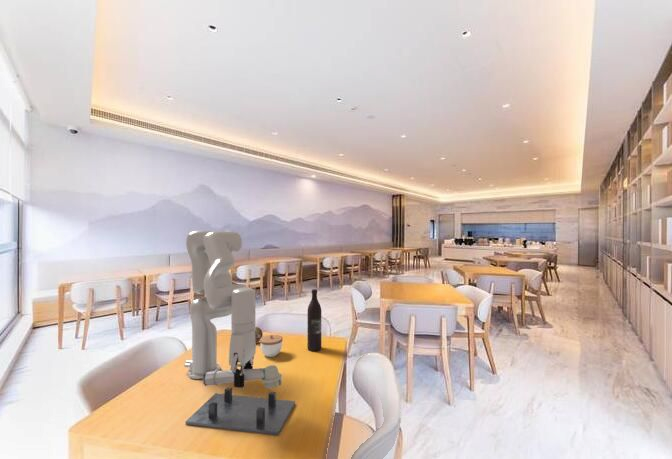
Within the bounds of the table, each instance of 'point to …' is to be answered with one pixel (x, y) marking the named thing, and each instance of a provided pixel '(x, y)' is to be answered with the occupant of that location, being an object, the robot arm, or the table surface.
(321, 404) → the table surface
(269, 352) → the lidded jar
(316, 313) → the wine bottle
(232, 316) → the robot arm
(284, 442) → the table surface
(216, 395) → the peg stand
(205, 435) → the table surface
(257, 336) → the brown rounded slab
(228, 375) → the white handheld device
